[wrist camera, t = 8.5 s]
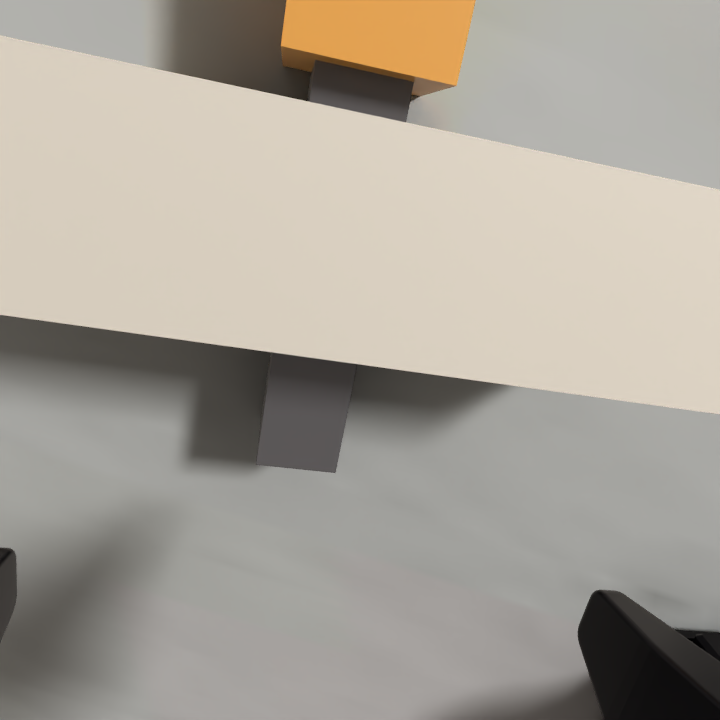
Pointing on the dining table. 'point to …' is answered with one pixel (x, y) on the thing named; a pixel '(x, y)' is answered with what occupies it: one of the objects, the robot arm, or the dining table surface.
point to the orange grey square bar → (369, 96)
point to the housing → (346, 236)
